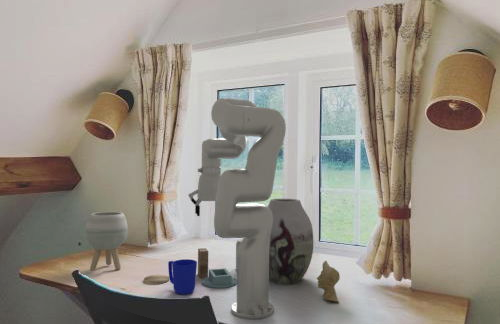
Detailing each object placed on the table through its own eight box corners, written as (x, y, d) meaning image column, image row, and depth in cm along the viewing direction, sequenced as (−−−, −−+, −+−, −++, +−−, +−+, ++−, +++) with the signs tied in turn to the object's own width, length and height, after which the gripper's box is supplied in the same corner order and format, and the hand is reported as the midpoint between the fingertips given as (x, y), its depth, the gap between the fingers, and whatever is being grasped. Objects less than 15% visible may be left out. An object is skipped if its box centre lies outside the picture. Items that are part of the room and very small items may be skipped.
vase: (263, 290, 128) (264, 203, 129) (250, 273, 149) (251, 197, 149) (321, 287, 132) (322, 202, 133) (301, 270, 153) (302, 197, 154)
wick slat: (207, 277, 143) (208, 251, 143) (200, 278, 142) (200, 251, 142) (205, 273, 148) (205, 248, 148) (197, 274, 147) (198, 248, 147)
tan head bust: (338, 305, 115) (339, 266, 115) (315, 303, 117) (315, 264, 117) (339, 296, 123) (340, 260, 123) (318, 294, 125) (318, 258, 125)
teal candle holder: (241, 286, 133) (241, 276, 133) (205, 289, 129) (205, 279, 129) (232, 275, 145) (232, 266, 145) (199, 278, 141) (199, 268, 141)
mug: (178, 284, 134) (178, 256, 134) (201, 291, 127) (202, 262, 127) (159, 289, 128) (159, 260, 128) (182, 298, 120) (183, 267, 120)
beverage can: (249, 272, 150) (250, 242, 151) (234, 271, 152) (234, 241, 152) (252, 267, 157) (253, 239, 157) (237, 266, 158) (238, 238, 158)
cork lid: (170, 284, 135) (170, 280, 135) (144, 286, 133) (144, 282, 133) (168, 276, 144) (168, 273, 144) (143, 278, 141) (143, 275, 141)
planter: (109, 261, 164) (110, 210, 164) (135, 266, 156) (136, 213, 156) (76, 270, 150) (77, 214, 151) (102, 276, 142) (103, 217, 142)
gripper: (189, 171, 141) (189, 217, 141) (234, 172, 146) (234, 216, 146) (187, 171, 149) (187, 214, 149) (230, 171, 153) (230, 213, 153)
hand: (210, 215), depth 147 cm, fingers open, 9 cm apart
